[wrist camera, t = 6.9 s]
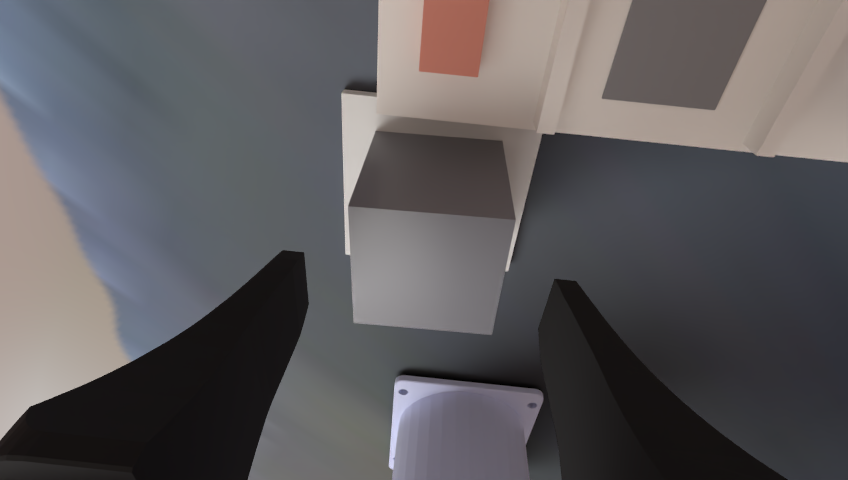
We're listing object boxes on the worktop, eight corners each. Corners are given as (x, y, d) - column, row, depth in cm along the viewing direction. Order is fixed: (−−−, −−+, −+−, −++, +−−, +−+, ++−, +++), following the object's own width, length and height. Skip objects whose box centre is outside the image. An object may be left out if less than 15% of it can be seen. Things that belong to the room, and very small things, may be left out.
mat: (507, 265, 20) (508, 271, 20) (347, 248, 20) (345, 254, 20) (545, 109, 16) (547, 114, 16) (343, 89, 16) (341, 93, 16)
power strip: (970, 146, 16) (1170, 244, 11) (387, 86, 16) (358, 159, 11) (1130, -41, 13) (1501, -7, 8) (393, -116, 13) (357, -123, 8)
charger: (502, 141, 16) (516, 220, 12) (484, 243, 19) (491, 336, 15) (375, 130, 16) (347, 206, 12) (376, 234, 19) (353, 324, 15)
